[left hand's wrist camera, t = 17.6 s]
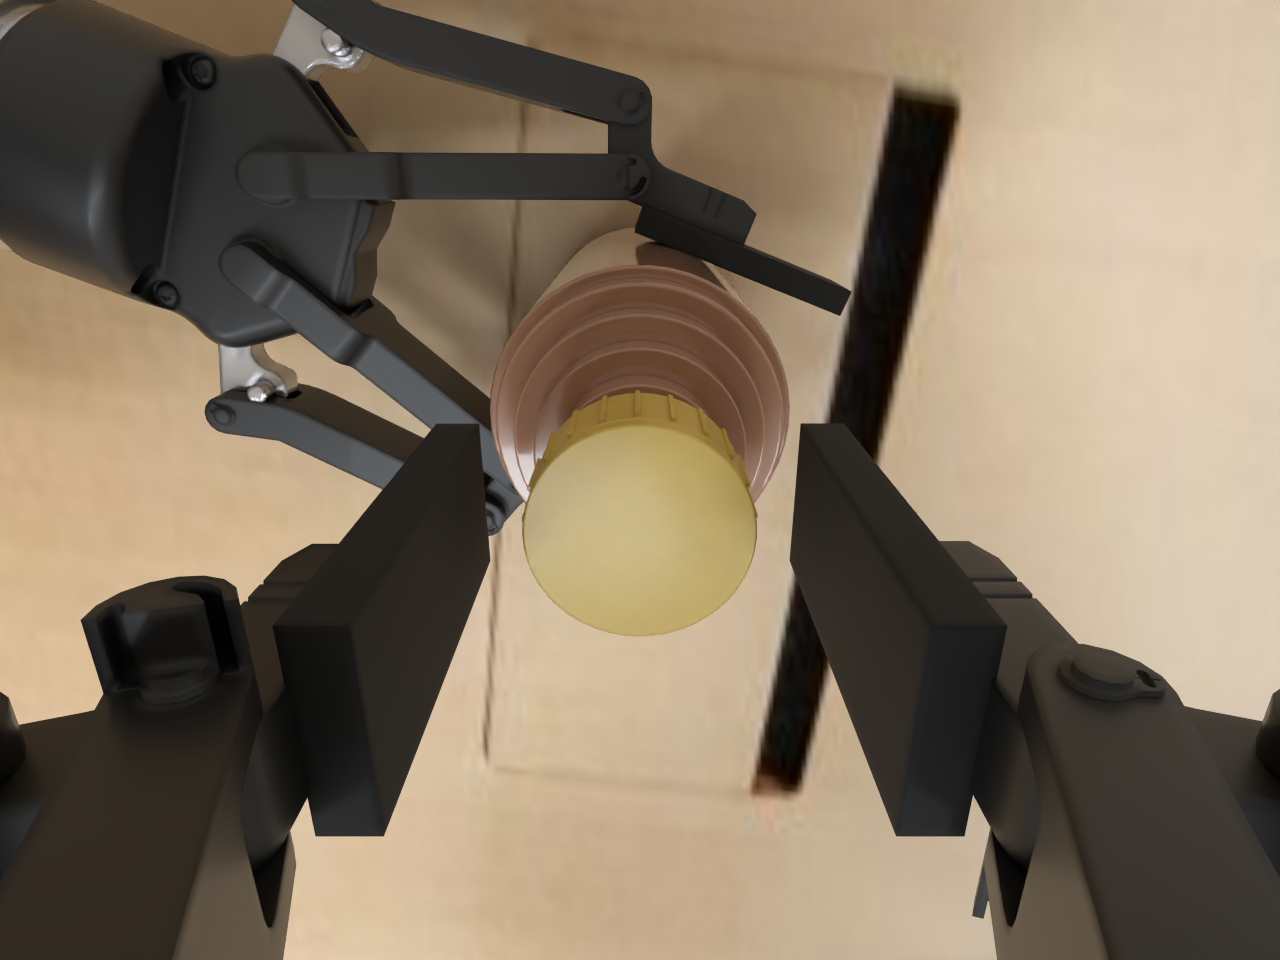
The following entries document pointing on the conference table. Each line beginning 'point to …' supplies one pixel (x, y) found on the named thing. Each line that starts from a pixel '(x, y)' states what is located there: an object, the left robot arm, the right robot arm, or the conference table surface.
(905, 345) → the conference table surface
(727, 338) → the bottle
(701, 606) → the cap
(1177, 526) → the conference table surface
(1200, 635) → the conference table surface
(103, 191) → the right robot arm
